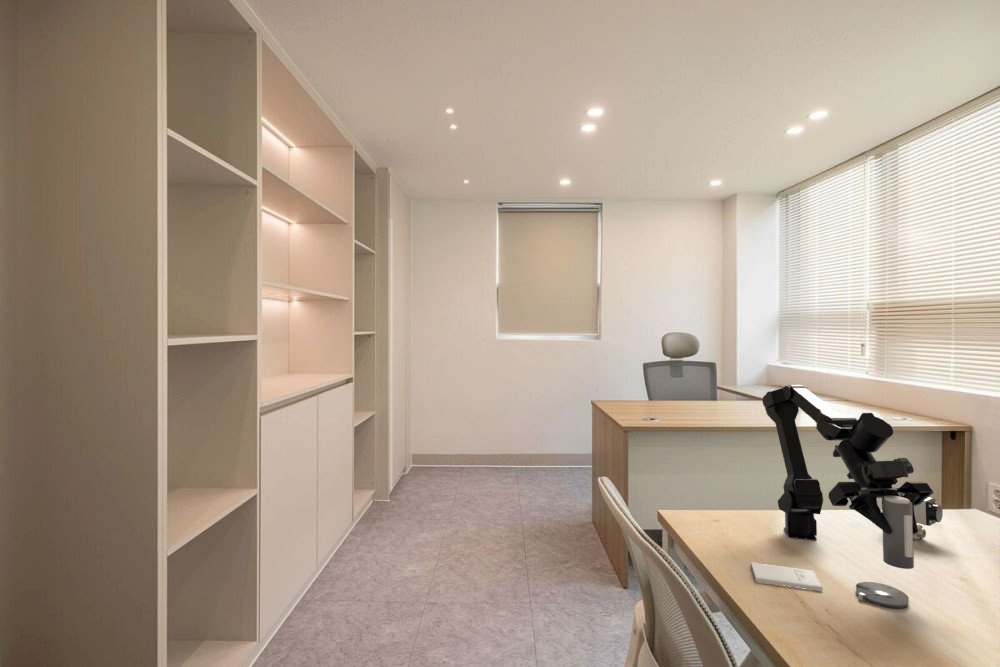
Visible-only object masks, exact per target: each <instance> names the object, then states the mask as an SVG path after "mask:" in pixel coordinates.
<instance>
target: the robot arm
mask: <svg viewBox="0 0 1000 667" xmlns="http://www.w3.org/2000/svg"><path fill="white" fill-rule="evenodd" d="M762 405H763V407H764V409H765V413H766V415H767V417H769V418H770V419H771V420H772V421H773V423H774V424H775V427H776V432H777V436H778V439H779V440H778V441H779V444H780V449H781V453H782V457H783V462H784V466H785V469H786V471H785V472H786V474H787V475H786V478H785V481H784V482H783V486H782V487H783V494H782V495H781V496H780V497H779V499H777V505H778V509H779V510H780V511H782V512H783V513H784V524H785V526H784V527H783V530H784V532H785V534H786V535H787V537H788V538H793V539H800V540H801V539H802V540H811V541H817V536H818V535H817V534H818V528H817V527H818V526H817V524H818V523H817V520H816V518H815V515H821V511H822V508H823V505H824V504H823V503H824V496H823V495H824V493H823V492H822V490H821V489H822V488H821V483H820V482H819V480H818V479H817V478H813V477H812V476H811V475H810V474H809V472H808V468H807V465H806V464H807V463H806V459H805V455H804V452H803V448H802V443H801V440H800V437H799V436H800V435H799V433H798V432H799V431H798V428H797V424H796V419H797V416H798V414H799V412H800V410H802V411H803V412H804V413H805V414H806V415H808V416H809V417H810V418H811V419H812V420H813V421H814V422H815V423H816V428H815V429H816V430H817V431H818V432H819V434H820V435H821V436H822V438H823V439H825V440H827V441H840V442H839V444H835V446H834V450H833V452H832V457H834V458H841V459H842V461H843V463H844V465H845V467H846V468H847V470H848V473H847V474H846V476H847V479H849V480H853V481H838V482H837V483H836V484H835V486H833V488H832V489H831V490H830V491H828V499H829V502H830V503H831V505H832V507H846V506H847V505H848V504H849V500H850V505H849V506H848V508H849V510H853V511H856V512H857V513H859V514H860V515H862V516H863V517H865V518H866V519H867V520H868V521H870V522H871V523H872V524H874V525H875V526H876V527H877V528H879V529H880V530H882V532H883V531H884V532H885V533H887V534H890V533H892V530H891V528H890V526H889V524H888V522H887V520H886V519H885V517H884V515H883V513H882V509H881V508H880V507H879V505H878V499H882V498H884V496H898V497H903V498H906V499H909V500H910V502H911V503H912V515H913V534H916V533H917V532H918V529H917V524H918V523H917V524H916V519H915V514H914V506H916V505H919V504H921V503H922V502H923V501H924V500H925V499H927V498H928V497H930V496H931V495H932V494H934V493H935V492H934V491H933V489H932V488H931V486H930V485H929V483H928V482H925V481H920V480H919V481H917V480H916V481H905V482H904V483H903V484H902V485H901V486H899V487H893V485H896V484H897V483H899V481H898V479H901V478H909V476H910V474H913V473H914V472H915V471H914V466H913V464H912V462H910V461H909V459H908V458H907V457H897V458H894V459H893V460H882V461H881V460H877V459H876V458H875V457H874V455H873V454H872V453H876V452H878V451H879V450H880V449H881V447H883V446H884V445H885V444H886V442H887V441H889V439H890V438H891V437H892V436H893V434H894V429H893V427H892V425H891V424H890V423H888V422H887V421H885V420H884V419H882V418H880V417H877V416H875V415H874V414H873V412H862V413H861V414H860V416H859V418H858V419H857V418H856V417H854V416H853V415H851V414H849V413H847V412H844V411H841V410H836V409H834V408H832V407H831V406H829V405H828V404H827V403H826V402H825V401H823V400H822V399H821V398H819V397H818V396H816V394H814V393H812V392H811V391H810V390H809V388H808V387H807V386H806V385H804V384H788V385H785V386H783V387H782V388H779V389H775V390H772V391H771V390H770V391H767V392H766V393H765V394H764V395H763V396H762ZM848 499H849V500H848Z"/></svg>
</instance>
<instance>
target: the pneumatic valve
mask: <svg viewBox="0 0 1000 667" xmlns="http://www.w3.org/2000/svg"><path fill="white" fill-rule="evenodd" d="M936 501H937V500H936V498H934V497H930V496H929V497H928V498H927V499H925V500H924V501H923V502H922V503H921V504H919V505H916V506H914V514H915V519H916V524H917V529H918V532H917V533H916V534H913V540H915V541H918V540H920V539H926V535H927V531H926V529H925V528H924V526H928V527H930V526H933V525H934V524H936V523H941V521H942V519H943V516H944V515H943V507H942V505H940V504H938V503H937V502H936ZM923 525H924V526H923Z"/></svg>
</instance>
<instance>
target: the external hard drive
mask: <svg viewBox="0 0 1000 667" xmlns="http://www.w3.org/2000/svg"><path fill="white" fill-rule="evenodd" d="M750 568H751V571H752V575H753V578H754V581H756V582H760V583H759V584H763V583H768V584H767V585H770V584H777V585H776V586H778V585H785V586H791V587H790V588H792V587H799V588H806V589H812V590H811V591H813V590H818V591H817V592H820V591H823V586H822V583H821V581H820V580H819V579H818V576H817V575H816V574H815V572H814V570H812V569H802V568H795V567H790V566H782V565H781V566H780V565H774V564H765V563H760V562H754V561H753V562H752V561H751V562H750ZM756 582H755V583H756ZM785 586H784V587H785ZM799 588H798V589H799ZM806 589H805V590H806Z"/></svg>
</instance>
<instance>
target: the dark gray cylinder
mask: <svg viewBox="0 0 1000 667" xmlns="http://www.w3.org/2000/svg"><path fill="white" fill-rule="evenodd" d="M881 512H882V513H883V515H884V517H885V519H886V520H887V522H888V524H889V526H890V528H891V530H892V533H890V534H887V533H885V532H884V531H883V530H882V557H883V560H882V561H883V562H884V563H885V564H887V565H888V566H891V567H893V568H898V569H903V570H904V569H905V570H910V569H911V570H912V569H914V567H915V558H914V556H915V554H914V539H913V515H912V503H911V502H910V500H909V499H906V498H903V497H898V496H884V498H881Z"/></svg>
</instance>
